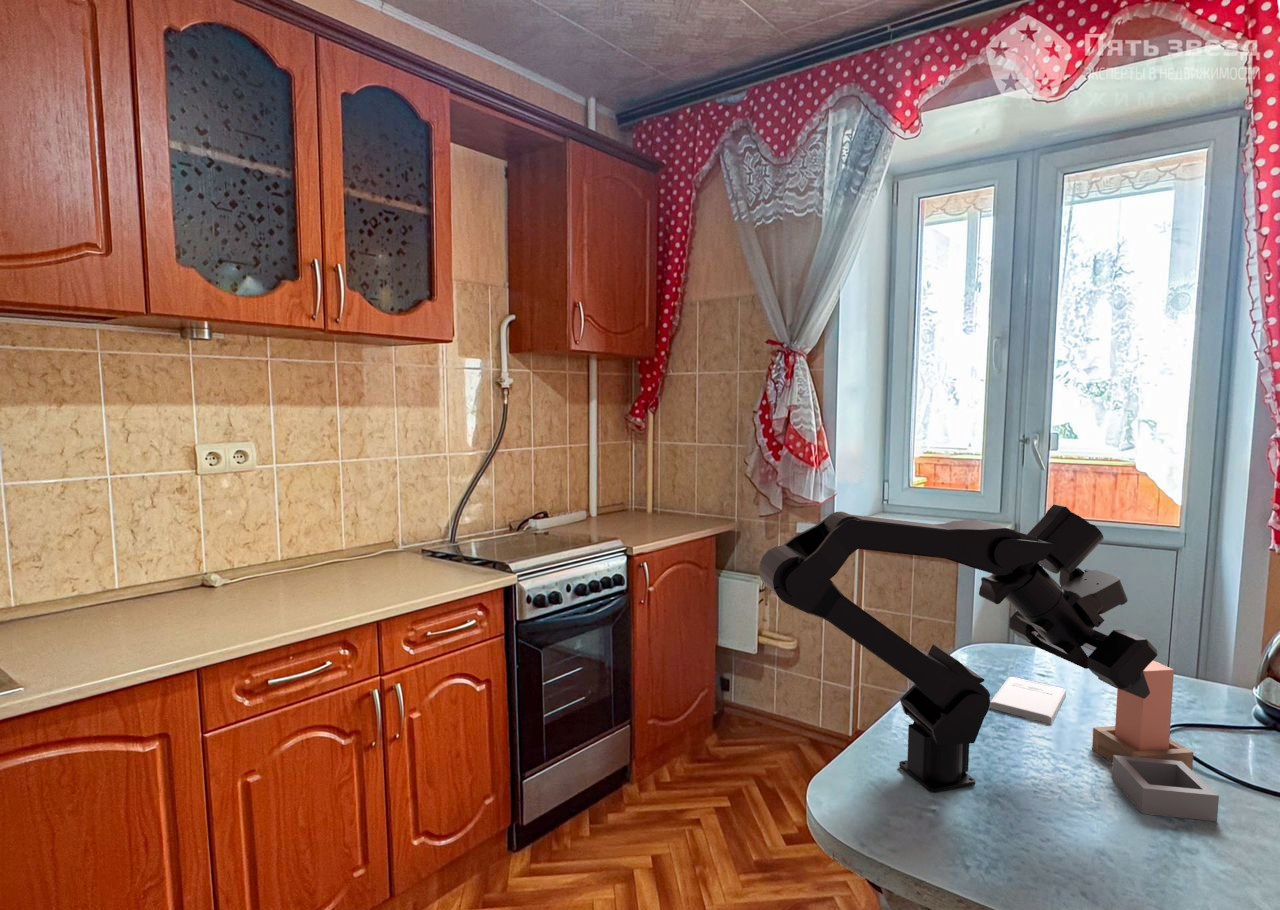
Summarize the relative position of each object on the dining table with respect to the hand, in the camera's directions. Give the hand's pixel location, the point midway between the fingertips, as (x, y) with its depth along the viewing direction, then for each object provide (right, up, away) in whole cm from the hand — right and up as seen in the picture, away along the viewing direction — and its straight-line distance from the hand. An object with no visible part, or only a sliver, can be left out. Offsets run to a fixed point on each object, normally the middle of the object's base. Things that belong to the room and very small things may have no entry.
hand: (1116, 680), depth 88 cm
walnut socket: (+4, -11, +1) cm, 12 cm away
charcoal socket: (+1, -12, -7) cm, 14 cm away
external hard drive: (0, -10, +19) cm, 22 cm away
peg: (+4, -11, +1) cm, 12 cm away
